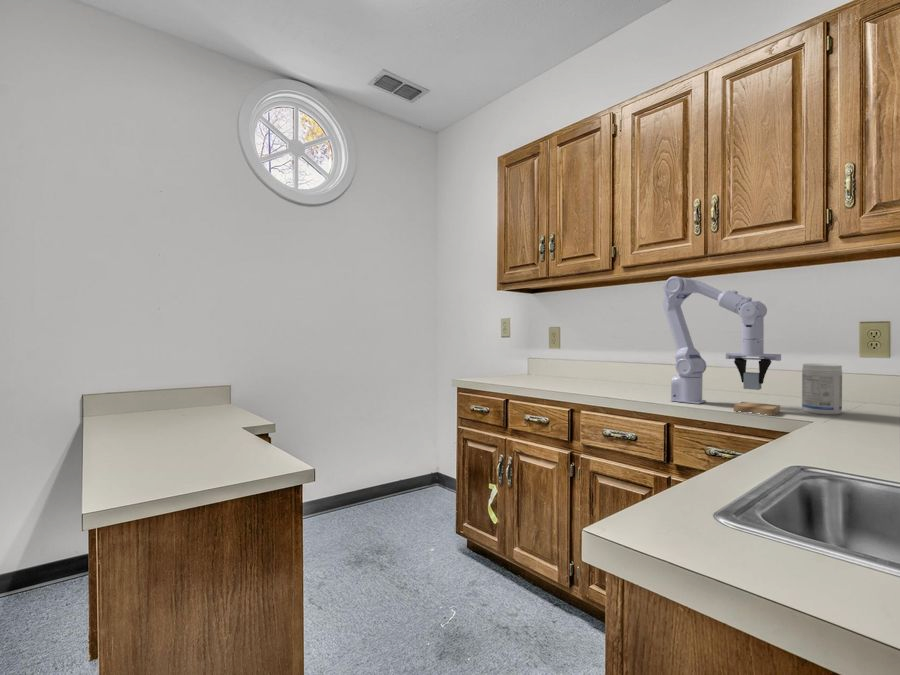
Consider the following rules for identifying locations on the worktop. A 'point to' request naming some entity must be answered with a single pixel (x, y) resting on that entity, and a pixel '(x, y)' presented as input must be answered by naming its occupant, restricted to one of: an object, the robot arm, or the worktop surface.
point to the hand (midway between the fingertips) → (752, 382)
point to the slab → (757, 408)
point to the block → (751, 381)
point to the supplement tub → (822, 388)
